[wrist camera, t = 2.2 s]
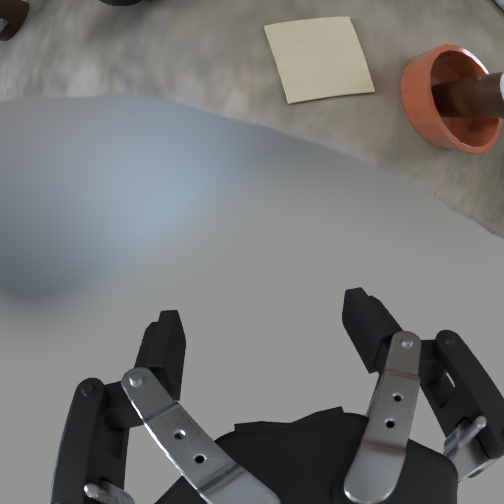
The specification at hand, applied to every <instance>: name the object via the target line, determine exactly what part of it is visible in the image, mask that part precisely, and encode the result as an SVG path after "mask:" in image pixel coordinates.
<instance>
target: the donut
mask: <svg viewBox="0 0 504 504" xmlns="http://www.w3.org/2000/svg"><path fill="white" fill-rule="evenodd" d="M494 1H495V2H496V3H497V4H498V5H499V6H500V7H501V8H502V9H503V10H504V0H494Z"/></svg>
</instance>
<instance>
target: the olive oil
mask: <svg viewBox="0 0 504 504" xmlns="http://www.w3.org/2000/svg"><path fill="white" fill-rule="evenodd" d="M28 9H29V4H28V3H27V2H25V1H22V0H0V41H7V40H9V39H10V38H11V37H12V36H13V35H14V34H15V33H16V32H17V31H18V29H19V28H20V26H21V25H22V23H23V21H24V20H25V18H26V15H27V13H28Z"/></svg>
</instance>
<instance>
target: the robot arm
mask: <svg viewBox="0 0 504 504" xmlns="http://www.w3.org/2000/svg"><path fill="white" fill-rule="evenodd" d="M342 321H343V325H344V327H345V329H346V331H347V333H348V335H349V337H350V339H351V340H352V342H353V344H354V346H355V348H356V350H357V352H358V353H359V355H360V357H361V359H362V361H363V363H364V364H365V367H366V369H367V370H368V372H369V374H370V373H373V372H377V371H378V373H379V377H378V380H377V383H376V386H375V389H374V393H373V395H372V398H371V401H370V404H369V407H368V409H367V412H366V414H365V416H364V415H360V414H355V413H344V412H343V409H342V406H340V407H336V408H332V409H328V410H323V411H319V412H315V413H313V414H311V415H309V416H306V417H304V418H302V419H299V420H297V421H294V422H292V423H279V422H265V421H259V422H250V423H240V424H234V426H235V431H233V432H230V433H227V434H225V435H223V436H221V437H219V438H218V439H216V440H215V441H213V440H212V439H211V438H210V437H209V436H208V435H207V434H206V433H205V432H204V431H203V430H202V428H201V427H200V426H199V425H198V424H197V423H196V422H195V421H194V420H193V419H192V417H191V416H190V415H189V414H188V413H187V412H186V411H185V410H184V408H183V407H182V406H181V405H180V404H179V403H178V402H177V401H178V400H180V391H181V383H182V374H183V365H184V357H185V349H186V339H185V334H184V330H183V327H182V323H181V320H180V317H179V313H178V311H177V310H169V311H168V310H167V311H161V313H160V316H159V320H158V322H152V323H151V324H150V325H149V326H148V327H147V328H146V330H145V333H144V336H143V339H142V343H141V346H140V349H139V353H138V356H137V359H136V363H135V366H134V368H133V369H131V370H129V371H128V372H126V373H125V374H124V376H123V378H122V381H119V382H116V383H111V384H106V385H104V384H103V383H102V382H101V380H99V379H97V378H88V379H86V380H84V381H82V382H81V383H80V384H79V385H78V386H77V388H76V391H75V394H74V397H73V400H72V403H71V407H70V410H69V413H68V417H67V420H66V424H65V427H64V431H63V435H62V439H61V442H60V446H59V451H58V456H57V460H56V465H55V469H54V475H53V481H52V486H51V493H50V500H49V504H135V503H134V500H133V498H132V497H131V496H130V495H129V494H128V493H127V492H125V491H124V480H125V467H126V456H127V446H128V438H129V429H130V428H131V427H136V426H140V425H144V424H145V426H146V427H147V429H148V430H149V432H150V433H151V434H152V436H153V437H154V439H155V440H156V441H157V443H158V444H159V446H160V447H161V448H162V450H163V451H164V452H165V454H166V455H167V456H168V458H169V459H170V460H171V461H172V463H173V464H174V465H175V466H176V468H177V469H178V470H179V471H180V473H181V474H182V476H181V477H180V478H179V479H178V480H177V481H176V482H175V483H174V484H173V485H172V486H171V487H170V488H169V490H168V491H167V492H166V493H165V494H164V495H163V496H162V497H161V498H160V499H159V500H158V501H157V502H156V503H154V504H457V489H458V483H459V482H461V481H462V480H464V479H466V478H472V477H475V476H476V475H478V474H479V473H481V472H482V471H484V470H485V469H486V468H488V467H489V466H490V465H492V464H493V463H494V462H496V461H497V460H498V459H499V458H500V457H502V456H503V455H504V398H503V396H502V395H501V394H500V392H499V390H498V389H497V387H496V386H495V384H494V383H493V381H492V380H491V378H490V377H489V375H488V374H487V373H486V371H485V370H484V368H483V367H482V365H481V364H480V363H479V361H478V360H477V358H476V357H475V356H474V354H473V353H472V352H471V350H470V349H469V348H468V346H467V345H466V344H465V343H464V341H463V340H462V339H461V338H460V336H459V335H458V334H457V333H455V332H453V331H450V330H442V331H440V332H439V333H438V334H437V336H436V338H435V340H420V338H419V337H418V336H417V335H415V334H414V333H412V332H409V331H403V330H402V328H401V327H400V326H399V324H398V323H397V322H396V321H395V319H394V318H393V317H392V315H391V314H389V312H388V310H387V309H386V308H385V306H384V305H383V304H382V303H381V302H380V300H378V299H377V298H375V297H373V296H368V295H367V294H366V292H365V291H364V290H363V289H362V288H361V287H359V288H354V289H348V290H346V291H345V297H344V305H343V312H342ZM447 372H448V374H449V375H450V377H451V378H452V380H453V382H454V385H455V388H454V387H453V385H452V383H451V381H450V380H449V378H448V376H447V375H446V374H447ZM419 385H420V387H421V389H422V390H423V392H424V394H425V396H426V398H427V400H428V402H429V404H430V406H431V408H432V410H433V412H434V414H435V416H436V418H437V420H438V422H439V424H440V426H441V428H442V430H443V433H444V435H445V437H446V440H445V443H444V453H443V454H441V453H438V452H436V451H434V450H432V449H430V448H427V447H425V446H423V445H421V444H419V443H417V442H415V441H413V440H411V439H409V438H408V437H409V433H410V429H411V425H412V421H413V417H414V412H415V406H416V402H417V397H418V390H419ZM175 401H176V402H175Z"/></svg>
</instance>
